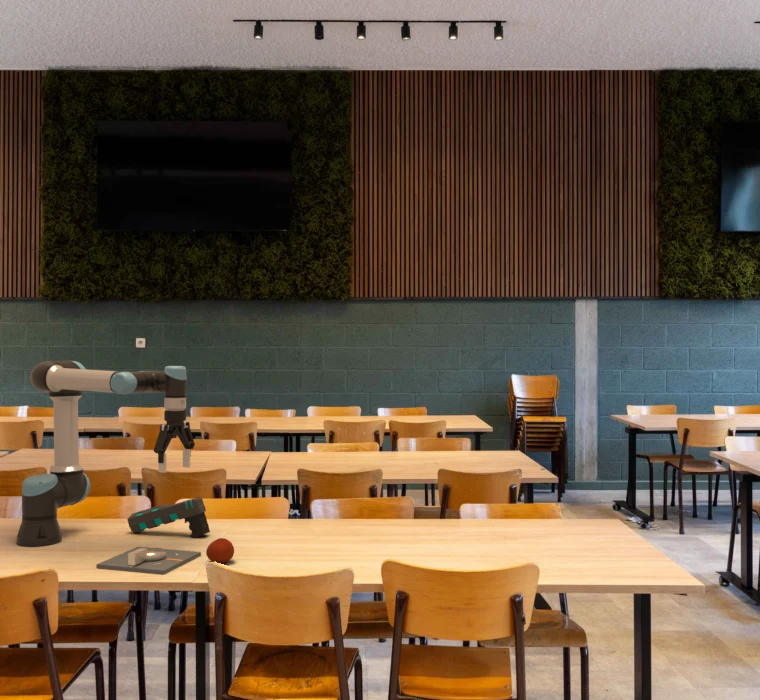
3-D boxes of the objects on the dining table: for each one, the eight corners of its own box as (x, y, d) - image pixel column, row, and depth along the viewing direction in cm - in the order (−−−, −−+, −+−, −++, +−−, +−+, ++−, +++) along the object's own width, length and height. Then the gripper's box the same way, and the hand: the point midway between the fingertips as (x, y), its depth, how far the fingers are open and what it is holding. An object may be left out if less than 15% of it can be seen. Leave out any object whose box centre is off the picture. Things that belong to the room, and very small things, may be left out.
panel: (96, 568, 258) (96, 563, 258) (138, 550, 282) (138, 546, 282) (163, 574, 252) (163, 570, 252) (200, 555, 275) (200, 551, 275)
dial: (145, 552, 273) (145, 540, 273) (171, 555, 270) (171, 543, 270) (117, 565, 258) (117, 552, 258) (145, 567, 255) (145, 554, 255)
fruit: (224, 557, 273) (225, 533, 273) (238, 563, 266) (238, 538, 266) (201, 561, 267) (201, 537, 267) (214, 567, 261) (214, 542, 261)
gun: (206, 534, 299) (194, 495, 300) (135, 555, 304) (124, 516, 305) (213, 531, 305) (202, 492, 306) (144, 550, 311) (133, 512, 312)
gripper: (161, 412, 275) (160, 475, 275) (204, 407, 298) (204, 465, 298) (143, 411, 278) (142, 473, 278) (187, 406, 301) (187, 464, 301)
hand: (174, 469), depth 288 cm, fingers open, 13 cm apart
